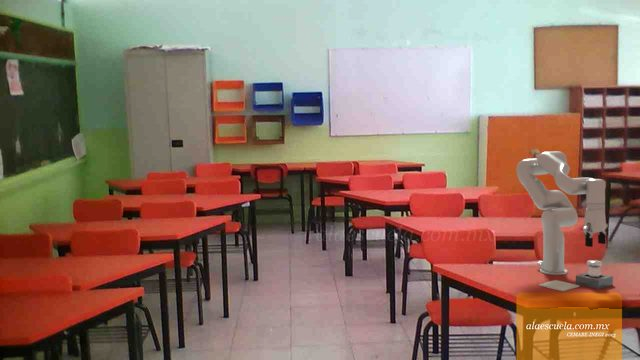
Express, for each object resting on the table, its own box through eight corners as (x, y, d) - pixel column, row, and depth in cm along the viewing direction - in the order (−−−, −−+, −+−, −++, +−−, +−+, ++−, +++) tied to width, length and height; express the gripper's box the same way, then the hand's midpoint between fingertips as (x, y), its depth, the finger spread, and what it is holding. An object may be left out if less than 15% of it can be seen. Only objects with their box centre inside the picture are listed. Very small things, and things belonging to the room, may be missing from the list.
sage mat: (539, 285, 268) (539, 284, 268) (555, 281, 275) (555, 279, 275) (562, 291, 258) (562, 290, 258) (579, 286, 265) (579, 285, 265)
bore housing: (575, 284, 269) (575, 275, 269) (589, 280, 275) (590, 271, 275) (598, 289, 260) (598, 280, 260) (612, 285, 266) (612, 276, 266)
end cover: (583, 284, 269) (584, 261, 268) (591, 282, 272) (592, 259, 271) (596, 287, 264) (596, 263, 263) (604, 284, 267) (604, 261, 266)
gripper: (598, 204, 272) (598, 241, 274) (576, 208, 263) (576, 246, 264) (614, 205, 266) (614, 243, 267) (592, 209, 256) (591, 248, 258)
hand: (595, 244), depth 266 cm, fingers open, 9 cm apart
